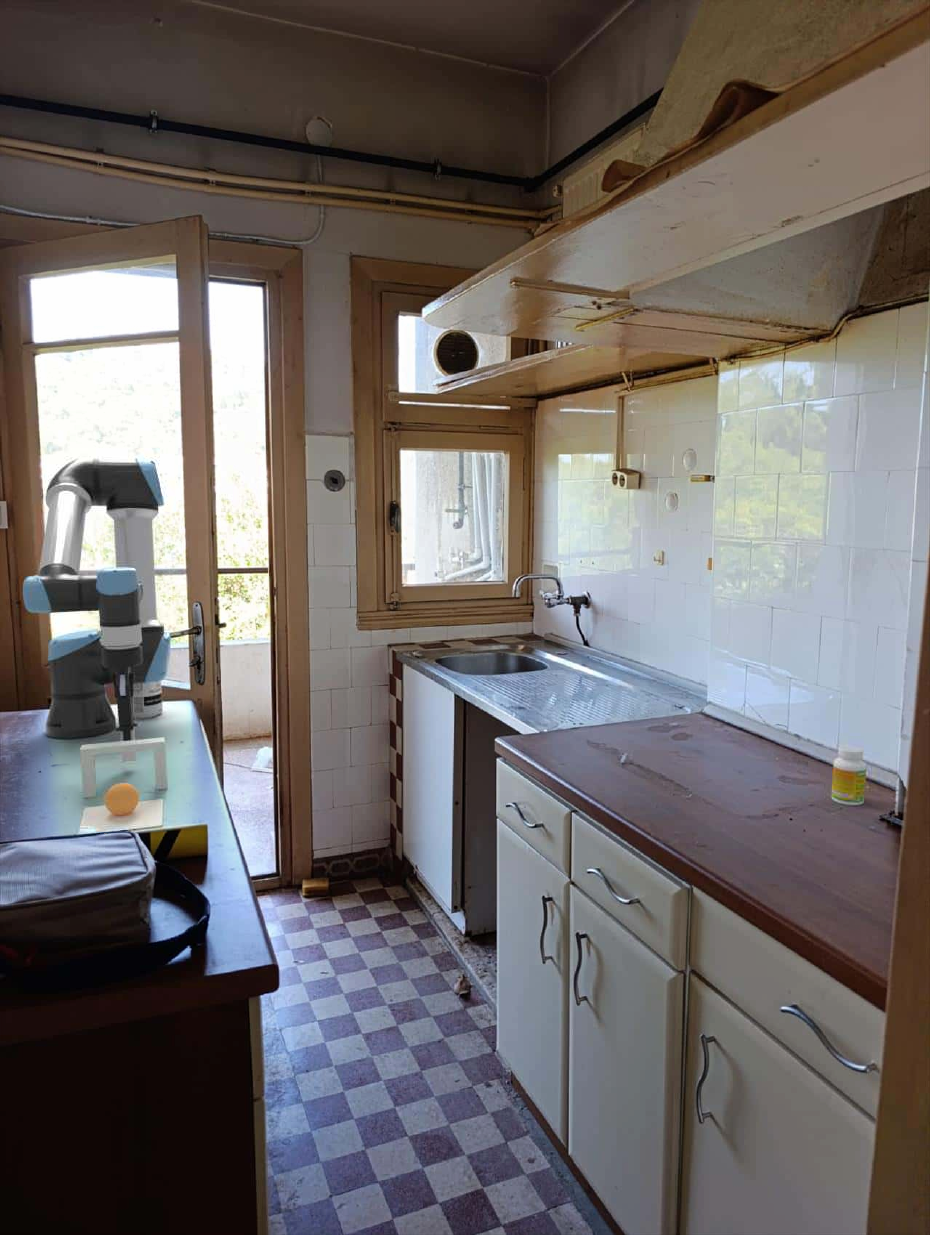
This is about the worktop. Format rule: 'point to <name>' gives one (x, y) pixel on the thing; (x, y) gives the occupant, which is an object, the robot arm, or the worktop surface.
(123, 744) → the bridge
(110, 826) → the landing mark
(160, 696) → the supplement can
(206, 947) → the worktop surface
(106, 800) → the ball
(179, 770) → the worktop surface
